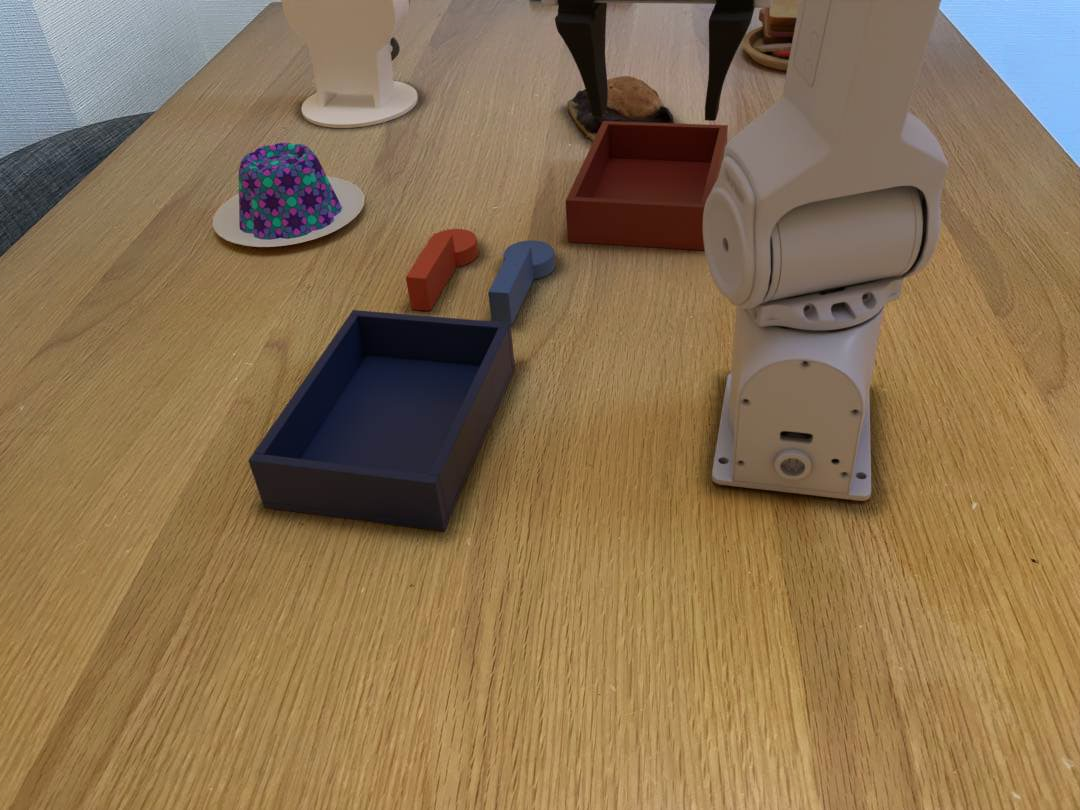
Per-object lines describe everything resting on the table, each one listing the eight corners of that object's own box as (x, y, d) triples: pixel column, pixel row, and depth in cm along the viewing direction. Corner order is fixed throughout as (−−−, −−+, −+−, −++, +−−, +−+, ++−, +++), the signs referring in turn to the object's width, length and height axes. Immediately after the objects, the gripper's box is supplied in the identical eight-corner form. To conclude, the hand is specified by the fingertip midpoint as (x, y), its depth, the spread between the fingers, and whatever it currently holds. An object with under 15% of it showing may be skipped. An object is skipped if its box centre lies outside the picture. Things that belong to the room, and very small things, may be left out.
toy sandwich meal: (732, 73, 97) (735, 23, 94) (750, 27, 107) (754, -19, 104) (865, 78, 94) (872, 27, 91) (871, 31, 104) (878, -17, 101)
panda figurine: (439, 84, 100) (418, -77, 91) (400, 130, 91) (372, -42, 82) (330, 81, 103) (299, -76, 93) (282, 125, 94) (242, -42, 85)
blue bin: (444, 531, 51) (435, 483, 48) (263, 507, 53) (247, 460, 51) (515, 368, 61) (510, 322, 59) (362, 353, 64) (352, 309, 61)
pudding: (296, 269, 73) (279, 204, 69) (182, 235, 78) (162, 174, 75) (396, 199, 80) (385, 138, 77) (287, 173, 86) (272, 115, 82)
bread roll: (561, 109, 93) (558, 70, 91) (646, 94, 94) (645, 55, 92) (595, 153, 85) (593, 111, 83) (687, 136, 86) (688, 95, 84)
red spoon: (445, 312, 67) (440, 279, 65) (395, 308, 67) (389, 275, 66) (484, 244, 74) (480, 212, 72) (438, 241, 74) (434, 210, 73)
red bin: (706, 250, 71) (708, 207, 69) (567, 241, 73) (565, 200, 71) (725, 164, 81) (727, 124, 79) (603, 159, 84) (602, 120, 82)
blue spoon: (528, 328, 65) (525, 294, 63) (475, 323, 65) (471, 290, 64) (559, 256, 72) (557, 224, 70) (511, 253, 72) (508, 221, 71)
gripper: (785, -125, 60) (768, 93, 69) (554, -120, 64) (564, 87, 72) (777, -98, 55) (759, 135, 63) (525, -94, 58) (540, 126, 67)
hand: (654, 112), depth 67 cm, fingers open, 7 cm apart
